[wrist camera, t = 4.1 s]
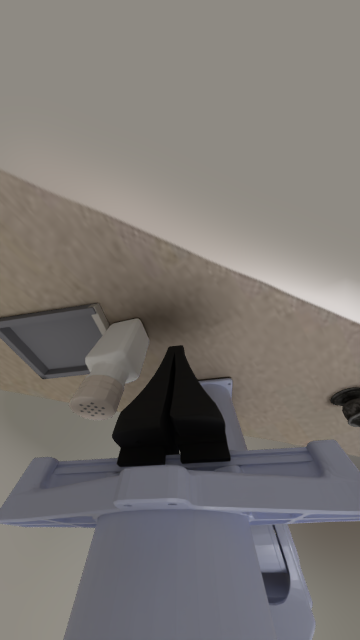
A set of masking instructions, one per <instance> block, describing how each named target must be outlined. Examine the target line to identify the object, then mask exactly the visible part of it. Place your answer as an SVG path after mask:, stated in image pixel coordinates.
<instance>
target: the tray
mask: <svg viewBox="0 0 360 640" xmlns="http://www.w3.org/2000/svg"><path fill="white" fill-rule="evenodd" d="M109 327H110V325H109V323H108V321H107V319H106V317H105V315H104V313H103V311H102V309H101V306H100V304H99V303H95V304H89V305H82V306H76V307H69V308H63V309H56V310H50V311H43V312H37V313H30V314H24V315H17V316H10V317H4V318H0V338H1V339H2V340H3V341H4V342H5V343H6V344H7V345H8V346H9V347H10V348H11V349H12V350H13V351H14V352H15V353H16V354H17V355H18V356H19V357H20V358H21V359H22V360H24V361H25V362H26V363H27V364H28V365H29V366H30V367H31V368H32V369H33V370H34V371H35V372H36V373H37V374H38V375H39V376H40V377H41V378H42V379H49V378H58V377H67V376H76V375H85V374H90V371H89V369H88V367H87V365H86V363H85V358H86V356H87V355H88V353H89V352H90V351H91V350H92V348H93V347H94V346H95V345H96V343H97V342H98V341H99V339H100V338H101V337H102V336H103V334H104V333H105V332H106V331H107V329H108V328H109Z"/></svg>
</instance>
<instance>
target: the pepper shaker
mask: <svg viewBox="0 0 360 640" xmlns="http://www.w3.org/2000/svg"><path fill="white" fill-rule="evenodd" d="M148 345H149V338H148V336H147V333H146V331H145V329H144V327H143V325H142V322H141V320H140V319H131V320H127V321H122V322H118V323H114V324H112V325H111V326H110V327H109V328H108V329H107V331H106V332H105V333H104V334H103V336H102V337H101V338H100V339H99V341H98V342H97V343H96V345H95V346H94V347H93V348H92V350H91V351H90V352H89V353H88V355H87V356H86V358H85V363H86V365H87V367H88V369H89V371H90V374H89V375H88V376H87V377H86V378H85V379H84V381H83V382H82V384H81V385H80V387H79V388H78V390H77V391H76V393H75V394H74V396H73V397H72V399H71V401H70V404H69V407H70V408H71V410H72V411H73V412H74V413H76V414H78V415H79V416H81V417H83V418H87V419H91V420H105V419H108V418H112V417H113V415H114V414H115V412H116V411H117V408H118V405H119V402H120V400H121V396H122V394H123V391H124V385H125V384H126V383H130V382H133V381H135V380H136V379H138V378H139V376H140V373H141V369H142V366H143V363H144V359H145V356H146V352H147V349H148Z"/></svg>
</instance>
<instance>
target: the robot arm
mask: <svg viewBox="0 0 360 640" xmlns="http://www.w3.org/2000/svg"><path fill="white" fill-rule="evenodd" d="M232 382H233V381H232V379H231V378H225V379H215V380H205V381H198V380H197V378H196V377H195V375H194V373H193V372H192V370H191V368H190V366H189V364H188V361H187V359H186V356H185V352H184V347H183V346H182V345H180V346H172V347H169V348H168V350H167V352H166V355H165V357H164V359H163V361H162V363H161V365H160V366H159V368H158V370H157V371H156V373H155V375H154V376H153V377H152V379H151V380H150V382H149V383H148V384H147V386H146V387H145V388H144V389H143V390H142V392H141V393H140V394H139V395H138V396H137V397H136V398H135V399H134V400H133V401H132V402H131V403H130V404H129V405H128V406H127V407H126V408H125V409H124V410H123V411H122V412H121V413H120V415H119V417H118V420H117V422H116V425H115V428H114V431H113V434H112V438H113V439H114V441H115V442H116V443H117V444H118V445H119V446H120V447H121V450H120V453H119V457H118V458H110V459H94V460H93V459H92V460H76V461H58V460H57V459H55V458H52V457H40V458H34V459H33V460H32V461H31V463H30V464H29V466H28V467H27V469H26V470H25V472H24V474H23V475H22V477H21V478H20V480H19V481H18V483H17V484H16V486H15V487H14V489H13V490H12V492H11V493H10V495H9V497H8V498H7V499H6V501H5V502H4V504H3V505H2V507H1V508H0V524H7V525H14V526H21V527H83V528H86V527H87V528H88V527H89V528H95V532H94V535H93V539H92V542H91V546H90V549H89V552H88V556H87V559H86V563H85V566H84V570H83V573H82V577H81V580H80V584H79V587H78V591H77V594H76V597H75V601H74V604H73V608H72V611H71V615H70V618H69V622H68V626H67V629H66V632H65V635H64V639H63V640H312V638H313V635H314V631H315V625H316V624H315V619H314V616H313V613H312V610H311V609H312V606H313V602H312V599H311V596H310V593H309V591H308V588H307V585H306V582H305V579H304V576H303V573H302V570H301V568H300V560H299V557H298V553H297V550H296V547H295V544H294V541H293V538H292V536H291V533H290V530H289V527H288V524H294V523H313V522H334V521H335V522H337V521H360V471H359V470H358V469H357V467H356V466H355V465H354V464H353V462H352V461H351V460H350V458H349V457H348V456H347V454H346V453H345V452H344V450H343V449H342V448H341V446H340V445H339V444H338V443H337V441H335V440H318V441H312V442H309V443H308V444H307V447H299V448H281V449H264V450H249V451H248V450H247V447H246V444H245V441H244V437H243V434H242V431H241V428H240V425H239V421H238V418H237V415H236V412H235V409H234V406H233V403H232ZM179 450H180V454H179ZM274 530H275V532H276V535H275V532H274Z"/></svg>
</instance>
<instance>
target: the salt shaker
mask: <svg viewBox="0 0 360 640" xmlns="http://www.w3.org/2000/svg"><path fill="white" fill-rule="evenodd" d="M331 403H333V404H335V405H340V406H343V410H342V411H343V413H344V416H345V418H346V419H347V420H348V424H349V425H351V426H354V427H360V388H349V389H345V390H342V391H340V392H338V393H336V394H335V395H334V396H333V397H332V398H331Z"/></svg>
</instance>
